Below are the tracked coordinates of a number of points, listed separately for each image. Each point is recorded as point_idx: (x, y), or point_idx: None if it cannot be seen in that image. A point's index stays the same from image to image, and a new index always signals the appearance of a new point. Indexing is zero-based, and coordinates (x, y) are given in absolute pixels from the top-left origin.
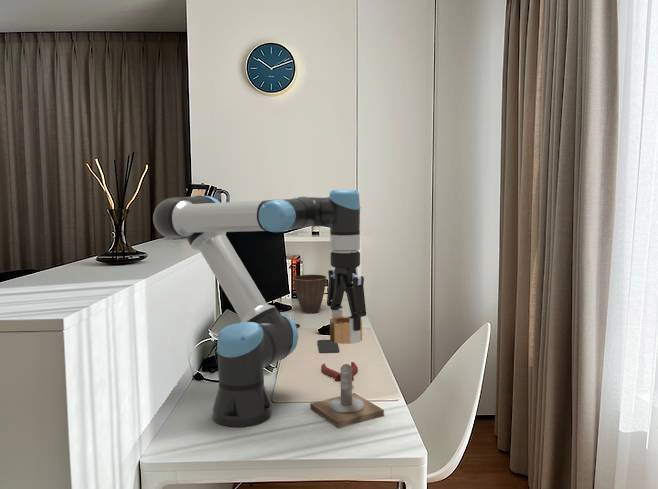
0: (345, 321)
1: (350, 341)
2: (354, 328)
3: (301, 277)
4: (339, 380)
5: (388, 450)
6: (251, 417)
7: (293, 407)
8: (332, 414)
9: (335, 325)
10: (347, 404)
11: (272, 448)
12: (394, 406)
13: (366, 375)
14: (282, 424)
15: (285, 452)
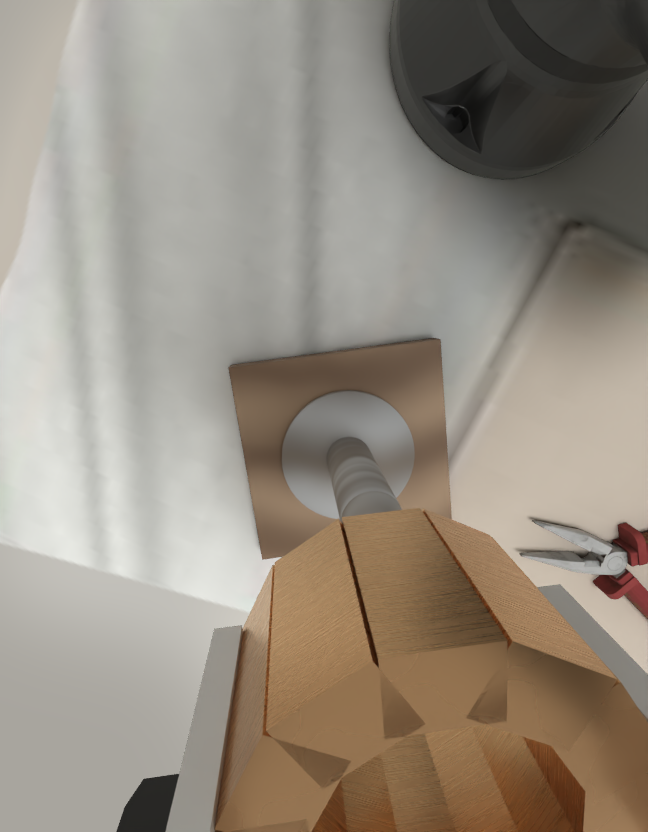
0: (539, 813)
1: (223, 639)
2: (158, 803)
3: None
4: (618, 540)
5: (6, 446)
6: (397, 21)
7: (478, 281)
8: (302, 376)
9: (350, 647)
10: (327, 454)
11: (156, 54)
12: None
13: None
14: (348, 177)
15: (105, 92)
